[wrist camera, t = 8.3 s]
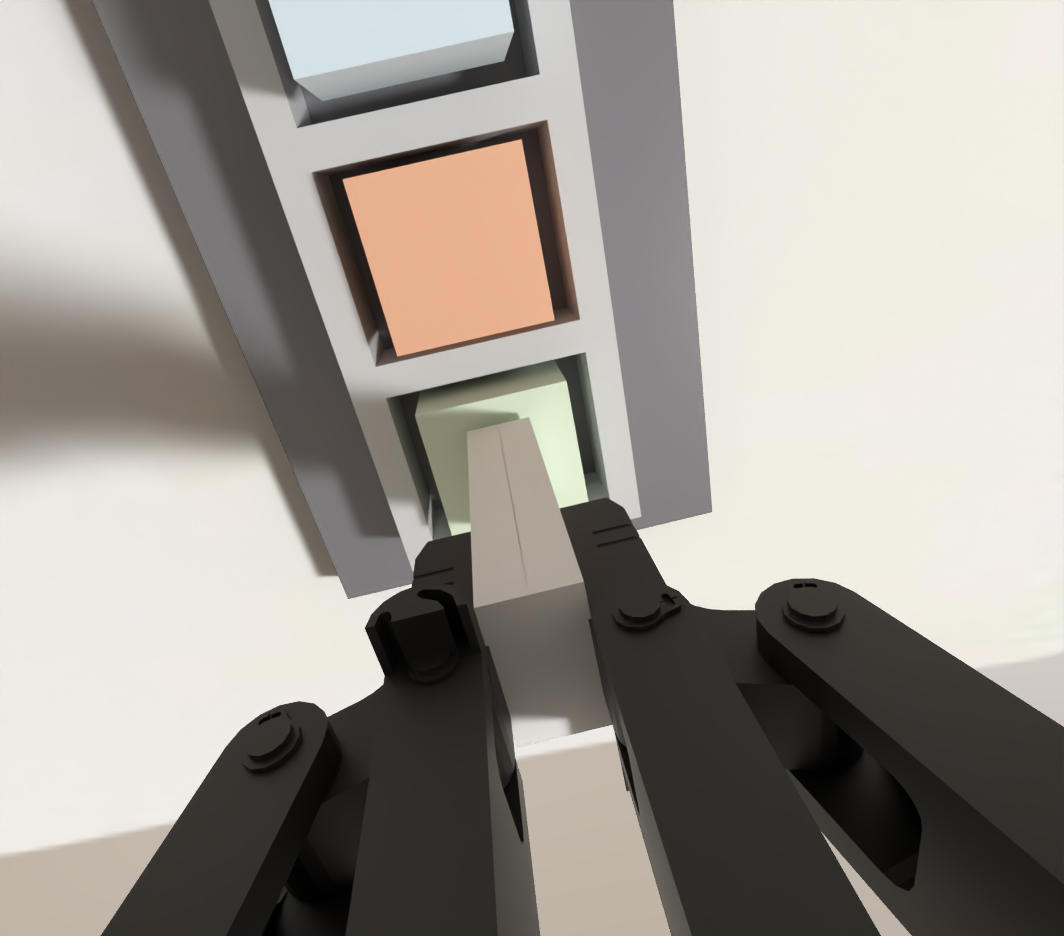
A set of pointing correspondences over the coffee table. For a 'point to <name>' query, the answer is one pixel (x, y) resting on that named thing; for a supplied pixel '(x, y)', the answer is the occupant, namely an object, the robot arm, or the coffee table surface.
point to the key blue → (387, 40)
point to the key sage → (492, 403)
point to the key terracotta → (453, 246)
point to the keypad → (346, 280)
